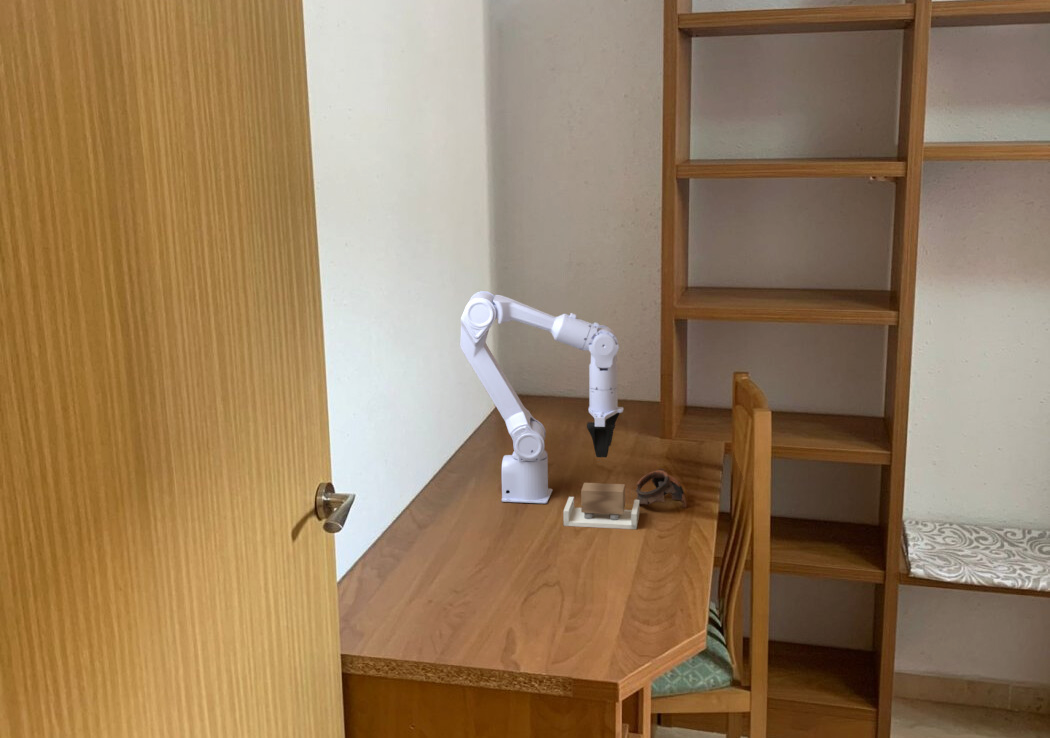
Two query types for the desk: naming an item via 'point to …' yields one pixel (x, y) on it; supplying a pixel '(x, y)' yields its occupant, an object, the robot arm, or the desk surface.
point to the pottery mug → (660, 488)
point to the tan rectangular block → (603, 498)
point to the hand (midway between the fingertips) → (603, 451)
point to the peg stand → (600, 517)
